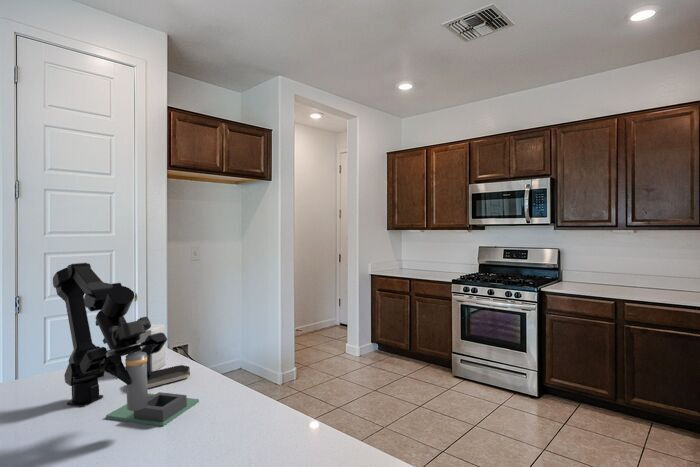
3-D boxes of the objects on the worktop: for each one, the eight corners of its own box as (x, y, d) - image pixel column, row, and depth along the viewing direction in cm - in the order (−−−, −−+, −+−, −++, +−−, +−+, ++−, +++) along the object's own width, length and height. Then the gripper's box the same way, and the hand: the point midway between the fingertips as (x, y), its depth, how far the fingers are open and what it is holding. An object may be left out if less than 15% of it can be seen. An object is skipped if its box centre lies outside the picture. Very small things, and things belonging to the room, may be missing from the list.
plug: (122, 409, 93) (120, 357, 93) (136, 401, 98) (135, 351, 98) (138, 411, 92) (137, 358, 92) (152, 403, 97) (151, 352, 97)
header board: (106, 418, 104) (105, 404, 104) (146, 395, 117) (146, 383, 117) (163, 426, 99) (163, 411, 99) (198, 402, 112) (198, 388, 112)
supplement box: (167, 364, 144) (165, 323, 144) (152, 373, 135) (151, 330, 135) (143, 364, 145) (142, 323, 145) (127, 373, 136) (126, 330, 136)
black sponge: (137, 393, 120) (137, 381, 120) (131, 385, 126) (130, 374, 126) (192, 379, 130) (192, 368, 130) (183, 372, 137) (183, 362, 137)
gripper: (84, 316, 89) (110, 374, 83) (162, 301, 105) (188, 349, 99) (69, 345, 93) (93, 402, 88) (146, 327, 109) (171, 374, 103)
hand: (140, 380), depth 94 cm, fingers closed on plug, 4 cm apart
